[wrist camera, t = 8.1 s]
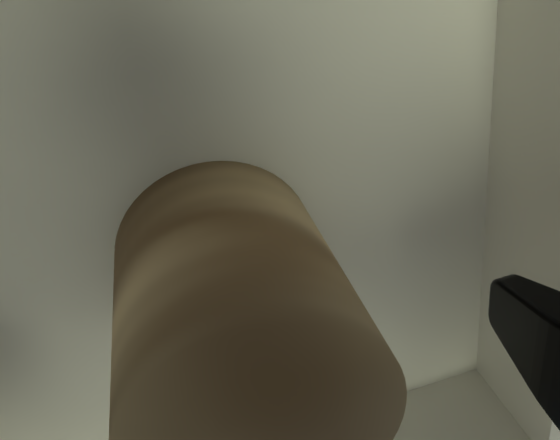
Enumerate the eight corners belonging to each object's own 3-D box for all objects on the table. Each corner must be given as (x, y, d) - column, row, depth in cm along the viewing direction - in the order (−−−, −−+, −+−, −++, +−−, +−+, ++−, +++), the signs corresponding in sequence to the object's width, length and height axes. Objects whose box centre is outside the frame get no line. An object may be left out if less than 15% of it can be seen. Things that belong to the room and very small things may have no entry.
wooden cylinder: (148, 348, 13) (159, 562, 9) (84, 192, 10) (57, 380, 6) (320, 297, 13) (410, 475, 9) (296, 138, 11) (401, 278, 7)
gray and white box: (21, 511, 16) (-8, 674, 12) (-410, -52, 8) (-820, -22, 4) (484, 361, 18) (568, 467, 14) (523, -214, 10) (737, -281, 6)
